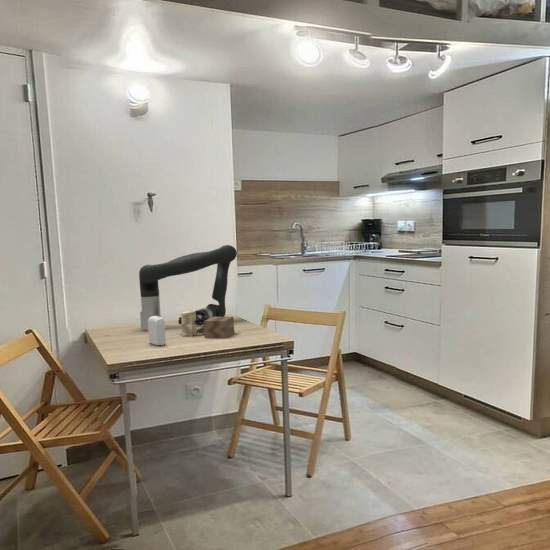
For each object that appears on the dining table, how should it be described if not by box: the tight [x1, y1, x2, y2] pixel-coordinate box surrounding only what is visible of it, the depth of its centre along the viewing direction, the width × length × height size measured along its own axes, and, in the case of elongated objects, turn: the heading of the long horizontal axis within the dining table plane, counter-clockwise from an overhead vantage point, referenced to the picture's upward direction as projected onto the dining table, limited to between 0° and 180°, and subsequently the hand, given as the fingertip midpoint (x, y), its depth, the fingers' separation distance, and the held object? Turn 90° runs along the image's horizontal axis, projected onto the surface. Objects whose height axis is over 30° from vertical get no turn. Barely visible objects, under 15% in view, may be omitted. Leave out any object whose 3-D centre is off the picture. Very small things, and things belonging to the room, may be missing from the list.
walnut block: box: [203, 316, 235, 339], centre depth 217 cm, size 10×12×8 cm
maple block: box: [180, 310, 198, 337], centre depth 221 cm, size 5×5×11 cm
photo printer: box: [148, 316, 167, 346], centre depth 204 cm, size 10×4×12 cm, turn 39°
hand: (187, 322), depth 219 cm, fingers open, 8 cm apart
